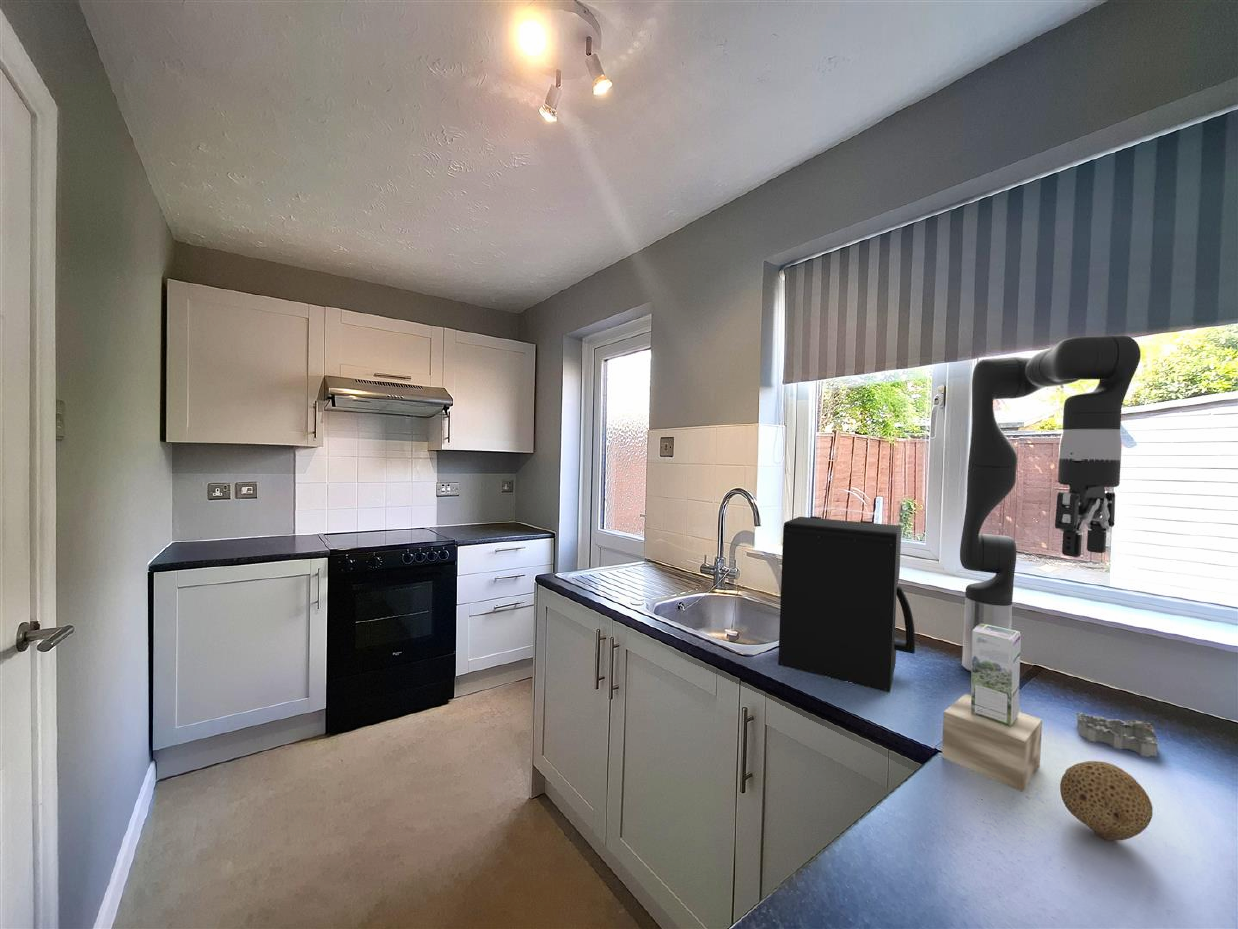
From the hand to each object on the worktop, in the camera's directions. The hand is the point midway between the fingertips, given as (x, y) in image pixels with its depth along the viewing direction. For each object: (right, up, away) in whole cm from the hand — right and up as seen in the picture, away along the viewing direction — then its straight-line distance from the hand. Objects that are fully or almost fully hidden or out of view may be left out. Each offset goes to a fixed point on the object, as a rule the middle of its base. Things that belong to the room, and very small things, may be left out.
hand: (1083, 554), depth 83 cm
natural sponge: (-12, -36, -16) cm, 41 cm away
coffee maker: (-22, -35, +38) cm, 56 cm away
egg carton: (+14, -37, +9) cm, 40 cm away
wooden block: (-15, -36, +1) cm, 38 cm away
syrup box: (-14, -28, +1) cm, 31 cm away
